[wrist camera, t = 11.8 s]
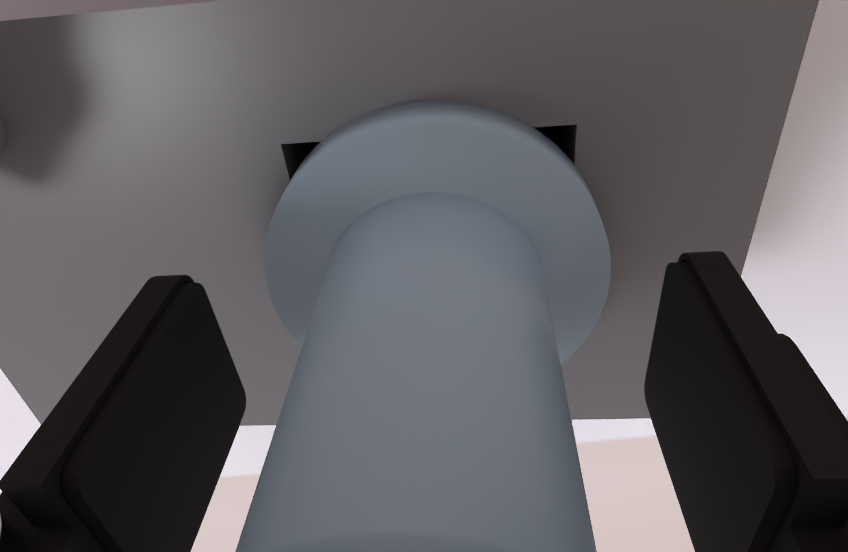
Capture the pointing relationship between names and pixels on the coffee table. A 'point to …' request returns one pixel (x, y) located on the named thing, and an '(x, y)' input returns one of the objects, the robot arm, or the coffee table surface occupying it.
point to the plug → (430, 339)
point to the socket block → (331, 109)
